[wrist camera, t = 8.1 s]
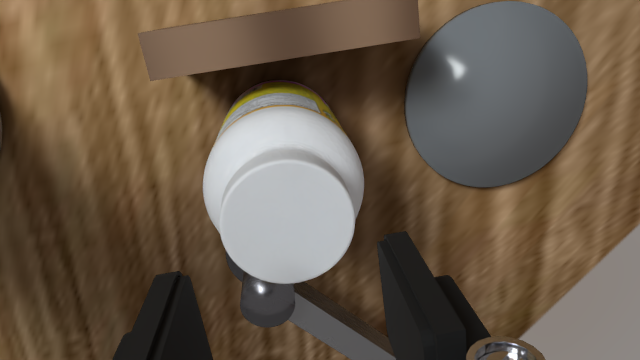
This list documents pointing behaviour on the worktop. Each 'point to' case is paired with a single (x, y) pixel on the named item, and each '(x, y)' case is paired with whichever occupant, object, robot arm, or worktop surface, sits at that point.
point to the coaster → (495, 93)
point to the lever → (310, 316)
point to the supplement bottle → (283, 183)
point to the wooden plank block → (277, 36)
